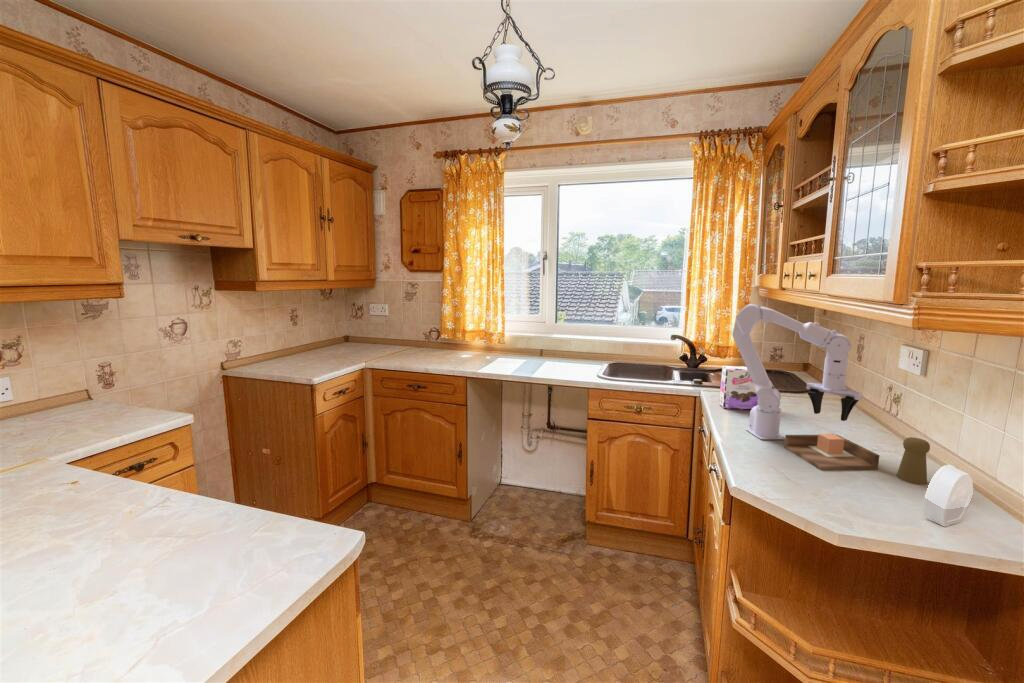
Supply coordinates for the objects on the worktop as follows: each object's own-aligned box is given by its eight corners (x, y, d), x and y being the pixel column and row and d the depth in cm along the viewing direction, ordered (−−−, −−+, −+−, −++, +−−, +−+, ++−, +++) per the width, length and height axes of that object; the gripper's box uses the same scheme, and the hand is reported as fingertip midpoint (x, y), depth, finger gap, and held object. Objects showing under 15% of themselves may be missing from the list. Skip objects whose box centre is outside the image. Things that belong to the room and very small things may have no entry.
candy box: (723, 409, 178) (725, 368, 176) (718, 404, 184) (721, 365, 181) (760, 410, 176) (764, 369, 173) (755, 406, 182) (758, 366, 179)
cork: (933, 485, 114) (939, 444, 112) (905, 483, 115) (911, 442, 114) (917, 475, 120) (922, 435, 118) (891, 473, 121) (896, 434, 120)
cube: (816, 448, 135) (818, 433, 135) (831, 447, 135) (832, 433, 135) (827, 454, 131) (829, 439, 130) (842, 453, 131) (844, 439, 130)
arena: (784, 447, 139) (785, 434, 139) (835, 446, 139) (837, 434, 139) (820, 469, 123) (821, 455, 123) (877, 469, 124) (879, 455, 123)
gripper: (802, 370, 141) (798, 412, 143) (854, 380, 129) (849, 425, 131) (815, 368, 145) (811, 409, 147) (867, 377, 132) (862, 421, 134)
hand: (830, 416), depth 139 cm, fingers open, 7 cm apart
